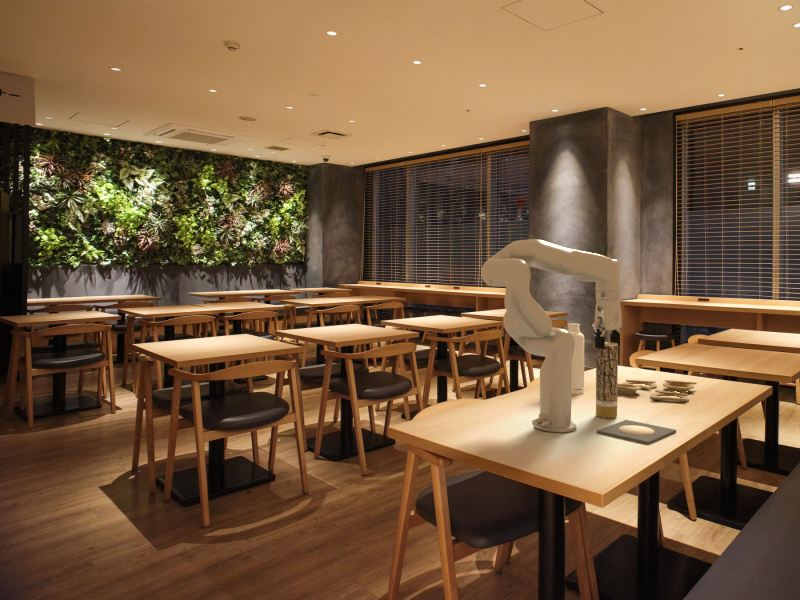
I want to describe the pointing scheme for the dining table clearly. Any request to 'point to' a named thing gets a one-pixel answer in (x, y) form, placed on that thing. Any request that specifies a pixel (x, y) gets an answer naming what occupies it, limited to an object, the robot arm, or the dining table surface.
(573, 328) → the bottle
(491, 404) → the dining table surface
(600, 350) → the bark-textured tube
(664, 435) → the card
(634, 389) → the tableware set
